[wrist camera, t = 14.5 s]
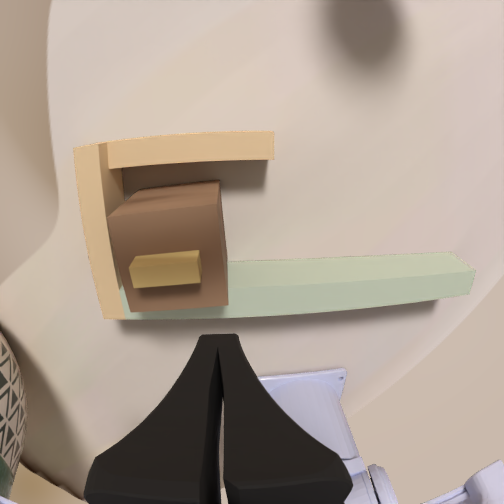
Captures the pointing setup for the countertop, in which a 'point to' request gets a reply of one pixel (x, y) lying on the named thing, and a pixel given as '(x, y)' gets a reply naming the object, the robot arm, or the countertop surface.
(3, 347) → the planter
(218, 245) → the cabinet block
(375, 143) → the countertop surface
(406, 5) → the countertop surface
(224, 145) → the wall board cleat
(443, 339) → the countertop surface
